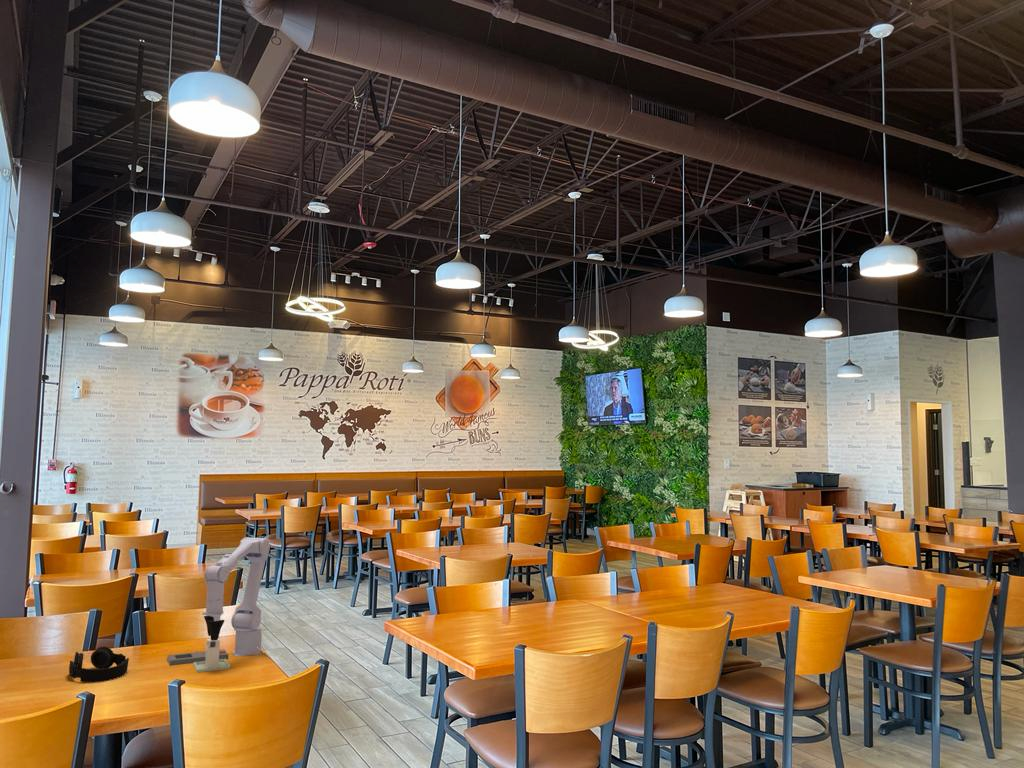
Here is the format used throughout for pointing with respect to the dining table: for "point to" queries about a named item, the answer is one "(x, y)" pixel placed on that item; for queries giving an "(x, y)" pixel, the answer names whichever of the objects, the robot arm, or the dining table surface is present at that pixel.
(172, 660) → the power strip
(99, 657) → the headphones
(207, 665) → the plug
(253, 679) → the dining table surface
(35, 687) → the dining table surface
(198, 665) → the tray
